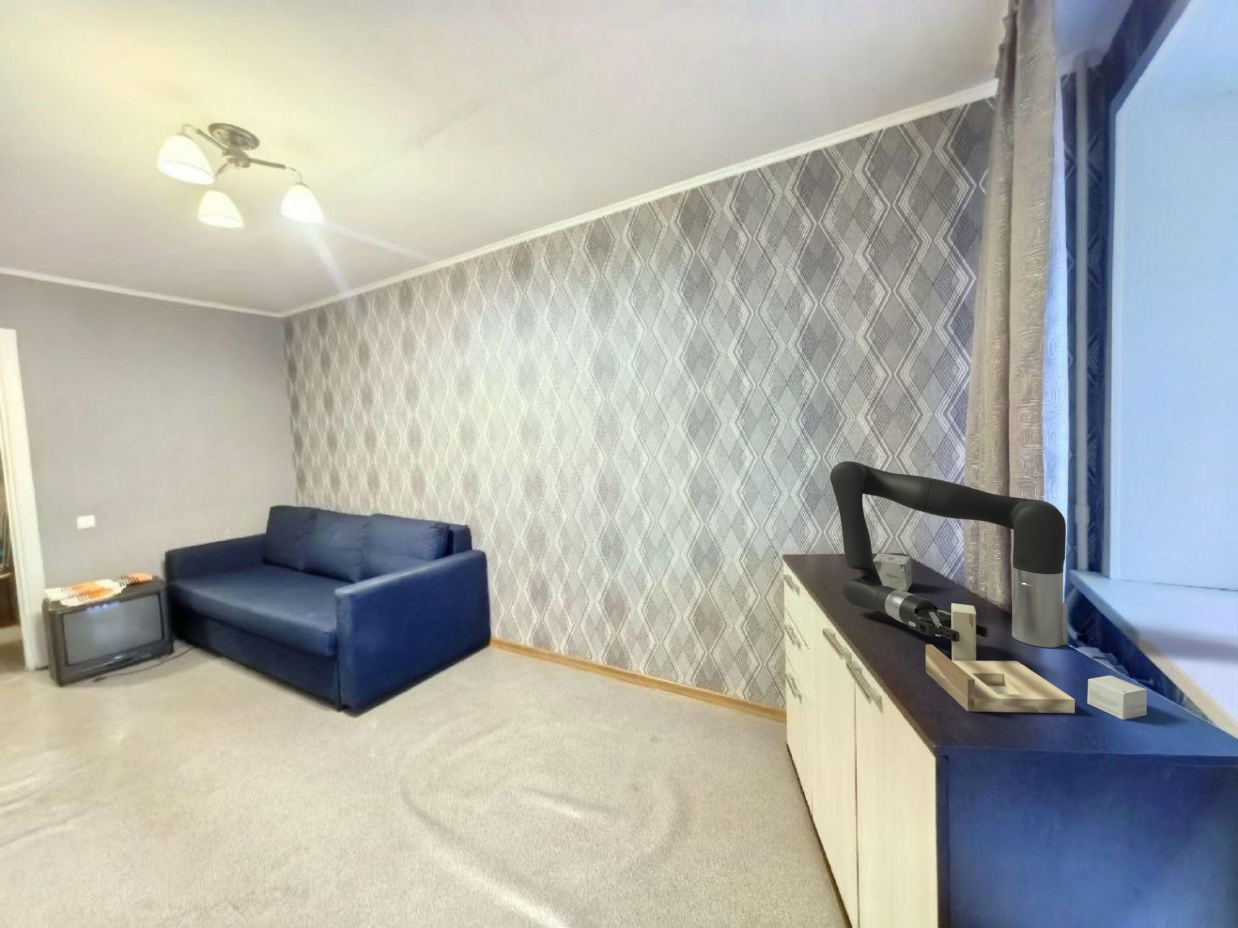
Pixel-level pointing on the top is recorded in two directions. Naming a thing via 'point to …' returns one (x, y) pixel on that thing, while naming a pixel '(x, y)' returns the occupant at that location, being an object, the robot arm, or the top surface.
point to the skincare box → (963, 632)
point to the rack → (996, 685)
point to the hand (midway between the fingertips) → (972, 634)
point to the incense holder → (894, 571)
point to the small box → (1117, 697)
